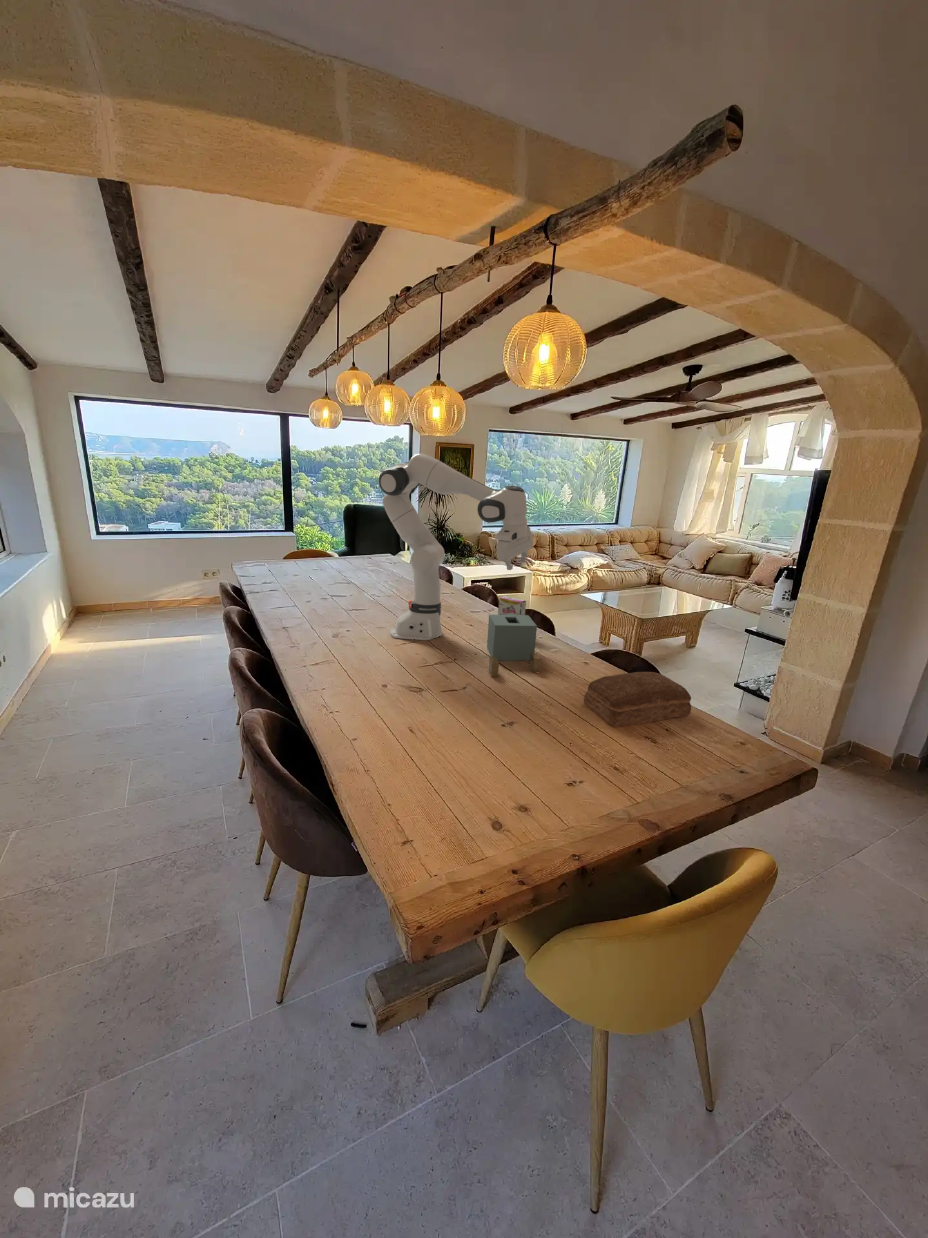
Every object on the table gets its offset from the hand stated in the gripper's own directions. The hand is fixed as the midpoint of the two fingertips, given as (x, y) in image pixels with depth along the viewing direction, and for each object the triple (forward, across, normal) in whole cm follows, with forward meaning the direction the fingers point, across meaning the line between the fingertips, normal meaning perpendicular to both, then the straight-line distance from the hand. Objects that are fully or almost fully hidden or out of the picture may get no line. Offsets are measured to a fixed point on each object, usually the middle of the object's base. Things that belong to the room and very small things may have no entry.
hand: (516, 565), depth 189 cm
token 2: (+32, +18, +17) cm, 41 cm away
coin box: (+33, +10, +2) cm, 35 cm away
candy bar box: (+37, -10, -11) cm, 40 cm away
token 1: (+30, +31, +9) cm, 44 cm away
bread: (+32, +24, +57) cm, 70 cm away
